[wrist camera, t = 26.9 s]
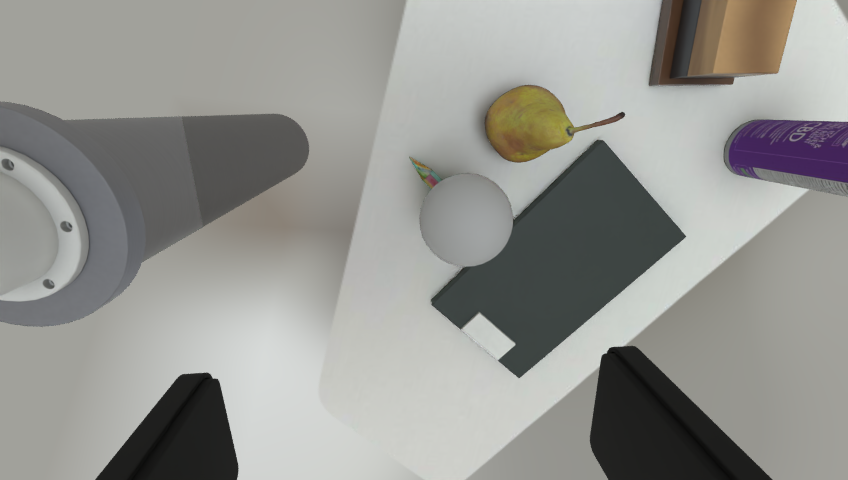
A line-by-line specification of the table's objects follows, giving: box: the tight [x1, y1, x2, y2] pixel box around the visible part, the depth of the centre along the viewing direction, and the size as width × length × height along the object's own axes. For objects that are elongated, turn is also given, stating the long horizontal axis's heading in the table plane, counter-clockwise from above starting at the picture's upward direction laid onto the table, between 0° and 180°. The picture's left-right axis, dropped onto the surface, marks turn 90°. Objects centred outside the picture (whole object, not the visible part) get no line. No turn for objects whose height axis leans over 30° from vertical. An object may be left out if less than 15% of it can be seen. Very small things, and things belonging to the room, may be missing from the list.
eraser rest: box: [649, 0, 734, 86], centre depth 30 cm, size 6×8×1 cm
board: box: [431, 140, 686, 378], centre depth 35 cm, size 20×12×1 cm, turn 136°
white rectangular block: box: [461, 312, 516, 360], centre depth 37 cm, size 2×5×1 cm, turn 47°
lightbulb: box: [419, 173, 513, 267], centre depth 28 cm, size 6×6×11 cm
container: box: [724, 120, 848, 197], centre depth 26 cm, size 5×5×15 cm
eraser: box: [670, 0, 797, 79], centre depth 27 cm, size 4×7×4 cm, turn 0°
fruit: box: [485, 85, 625, 162], centre depth 26 cm, size 6×6×12 cm
